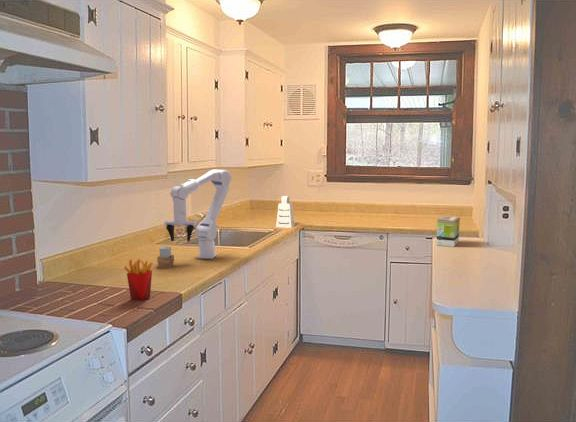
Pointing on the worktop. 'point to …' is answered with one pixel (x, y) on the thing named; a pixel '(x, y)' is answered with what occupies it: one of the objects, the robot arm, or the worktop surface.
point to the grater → (285, 213)
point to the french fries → (139, 280)
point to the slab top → (165, 259)
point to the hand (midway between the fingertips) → (180, 240)
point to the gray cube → (165, 251)
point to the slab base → (165, 265)
